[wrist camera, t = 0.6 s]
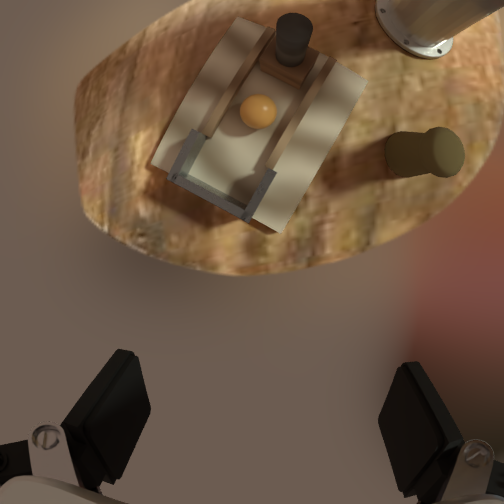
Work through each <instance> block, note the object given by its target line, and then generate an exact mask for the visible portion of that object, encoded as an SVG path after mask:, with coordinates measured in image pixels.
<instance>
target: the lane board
mask: <svg viewBox="0 0 504 504" xmlns="http://www.w3.org/2000/svg"><path fill="white" fill-rule="evenodd" d="M275 35H276V31H275V29H273V28H270V27H264V26H262V25H259V24H257V23H254V22H251V21H249V20H246V19H243V18H241V17H237V18H236V19H235V21H234V22H233V23H232V25H231V26H230V28H229V29H228V30H227V32H226V33H225V35H224V36H223V37H222V39H221V40H220V42H219V43H218V45H217V46H216V48H215V49H214V51H213V52H212V54H211V55H210V57H209V58H208V60H207V62H206V63H205V65H204V66H203V68H202V69H201V71H200V73H199V74H198V76H197V78H196V79H195V81H194V83H193V84H192V86H191V88H190V89H189V91H188V93H187V94H186V96H185V98H184V100H183V101H182V103H181V105H180V107H179V109H178V110H177V112H176V114H175V116H174V118H173V120H172V121H171V123H170V125H169V127H168V129H167V131H166V133H165V135H164V137H163V139H162V141H161V143H160V145H159V147H158V149H157V151H156V153H155V155H154V157H153V159H152V161H151V163H150V164H152V165H154V166H156V167H158V168H160V169H162V170H164V171H166V172H167V173H169V172H170V170H171V168H172V166H173V164H174V162H175V160H176V158H177V156H178V154H179V152H180V150H181V148H182V146H183V144H184V142H185V140H186V138H187V137H188V135H189V133H190V131H191V129H194V130H196V131H198V132H200V133H202V134H204V135H206V136H208V137H207V139H206V141H205V143H204V145H203V146H202V148H201V150H200V152H199V154H198V156H197V158H196V160H195V162H194V164H193V166H192V168H191V169H190V171H189V173H188V174H189V175H191V176H193V177H195V178H197V179H199V180H201V181H203V182H205V183H207V184H208V185H210V186H212V187H214V188H216V189H218V190H220V191H222V192H223V193H225V194H227V195H229V196H231V197H233V198H235V199H236V200H238V201H240V202H242V203H244V204H246V205H248V204H249V202H250V200H251V198H252V196H253V195H254V193H255V191H256V189H257V187H258V186H259V184H260V182H261V180H262V179H263V177H264V175H265V173H266V171H267V170H268V168H270V169H272V170H274V171H275V172H277V174H276V176H275V177H274V179H273V181H272V183H271V185H270V186H269V188H268V190H267V192H266V193H265V195H264V197H263V199H262V200H261V202H260V204H259V206H258V208H257V209H256V211H255V213H254V215H253V216H252V218H253V219H255V220H257V221H259V222H261V223H262V224H264V225H266V226H268V227H270V228H271V229H273V230H275V231H277V232H279V233H280V234H281V233H282V231H283V229H284V228H285V226H286V224H287V223H288V221H289V219H290V218H291V216H292V214H293V212H294V211H295V209H296V207H297V206H298V204H299V202H300V200H301V199H302V197H303V195H304V194H305V192H306V190H307V188H308V187H309V185H310V183H311V181H312V180H313V178H314V176H315V175H316V173H317V171H318V169H319V168H320V166H321V164H322V162H323V161H324V159H325V157H326V155H327V154H328V152H329V150H330V148H331V147H332V145H333V143H334V141H335V140H336V138H337V136H338V134H339V133H340V131H341V129H342V127H343V125H344V124H345V122H346V120H347V118H348V117H349V115H350V113H351V111H352V110H353V108H354V106H355V104H356V102H357V101H358V99H359V97H360V95H361V93H362V92H363V90H364V88H365V86H366V84H367V83H368V81H367V80H366V79H364V78H363V77H361V76H360V75H358V74H356V73H355V72H353V71H352V70H350V69H348V68H347V67H345V66H343V65H341V64H340V63H338V62H336V61H337V60H336V59H334V58H332V57H330V56H329V57H327V56H325V55H324V54H322V53H319V55H318V58H317V60H316V62H315V65H314V66H313V68H312V69H311V71H310V73H309V74H308V76H307V78H306V79H305V81H304V83H303V84H302V86H301V87H300V89H299V90H298V89H297V88H295V87H293V86H291V85H289V84H287V83H285V82H283V81H281V80H279V79H277V78H275V77H273V76H271V75H269V74H267V73H265V72H262V71H261V68H260V57H261V56H262V54H263V53H264V51H265V50H266V48H267V47H268V45H269V44H270V42H271V41H272V39H273V38H274V37H275ZM254 94H263V95H266V96H268V97H270V98H271V99H272V100H273V101H274V103H275V105H276V108H277V116H276V118H275V120H274V122H273V123H272V124H271V125H270V126H268V127H266V128H263V129H254V128H251V127H249V126H247V125H246V124H245V123H244V122H243V121H242V119H241V116H240V107H241V104H242V102H243V101H244V100H245V99H246V98H247V97H249V96H251V95H254Z"/></svg>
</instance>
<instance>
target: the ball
mask: <svg viewBox="0 0 504 504" xmlns="http://www.w3.org/2000/svg"><path fill="white" fill-rule="evenodd" d="M240 116H241V119H242V121H243V122H244V123H245V124H246V125H247V126H249V127H251V128H254V129H263V128H266V127H268V126H270V125H271V124H272V123H273V122H274V120H275V118H276V116H277V108H276V105H275V103H274V101H273V100H272V99H271V98H270V97H268V96H266V95H263V94H254V95H251V96H249V97H247V98H246V99H245V100H244V101H243V102H242V104H241V107H240Z"/></svg>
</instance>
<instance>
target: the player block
mask: <svg viewBox="0 0 504 504" xmlns="http://www.w3.org/2000/svg"><path fill="white" fill-rule="evenodd" d="M312 31H313V25H312V23H311V21H310V20H309V19H308V18H307V17H305V16H304V15H301V14H298V13H288V14H285V15H283V16H281V17H280V18H279V19H278V21H277V24H276V35H275V37H274V38H273V39H272V41H271V42H270V44H269V45H268V47H267V48H266V50H265V51H264V53H263V54H262V56H261V57H260V68H261V71H262V72H265V73H267V74H269V75H271V76H273V77H275V78H277V79H279V80H281V81H283V82H285V83H287V84H289V85H291V86H293V87H295V88H297V89H298V90H299V89H300V87H301V86H302V84H303V83H304V81H305V79H306V78H307V76H308V74H309V73H310V71H311V69H312V68H313V66H314V65H315V62H316V60H317V58H318V55H319V53H320V52H318V51H316V50H314V49H312V48H310V47H308V44H309V41H310V37H311V34H312Z"/></svg>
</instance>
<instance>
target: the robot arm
mask: <svg viewBox="0 0 504 504" xmlns="http://www.w3.org/2000/svg"><path fill="white" fill-rule="evenodd" d="M502 7H504V0H376V3H375V12H376V16H377V19H378V21H379V23H380V25H381V26H382V28H383V29H384V31H385V32H386V33H387V34H388V36H389V37H390V38H391V39H392V40H393V41H394V42H395V43H396V44H398V45H399V46H400V47H402V48H403V49H405V50H406V51H408V52H410V53H411V54H414V55H416V56H418V57H422V58H426V59H436V58H440V57H442V56H444V55H445V54H447V53H448V52H449V51H450V50H451V47H452V45H453V36H455V35H457V34H458V33H460V32H461V31H463V30H465V29H466V28H468V27H470V26H471V25H473V24H475V23H476V22H478V21H480V20H481V19H483V18H485V17H487V16H488V15H490V14H492V13H493V12H495V11H497V10H499V9H500V8H502ZM150 411H151V406H150V402H149V399H148V395H147V391H146V387H145V384H144V379H143V375H142V371H141V367H140V362H139V358H138V357H137V356H135V355H134V353H133V352H132V351H127V350H122V349H117V350H116V351H115V353H114V354H113V355H112V357H111V358H110V359H109V361H108V362H107V363H106V364H105V366H104V367H103V368H102V370H101V371H100V372H99V374H98V375H97V376H96V378H95V379H94V380H93V381H92V382H91V384H90V385H89V386H88V388H87V389H86V390H85V392H84V393H83V394H82V396H81V397H80V399H79V400H78V401H77V403H76V404H75V406H74V407H73V408H72V410H71V411H70V412H69V414H68V415H67V417H66V418H65V419H64V421H63V422H62V423H61V425H58V424H56V423H54V422H50V421H49V422H41V423H38V424H37V425H35V426H34V427H33V428H32V429H31V430H30V432H29V434H28V440H24V441H20V442H14V443H9V444H4V445H0V504H128V503H124V502H121V501H118V500H115V499H112V498H109V497H106V496H103V494H102V492H101V489H100V487H99V486H100V485H101V483H102V481H104V482H107V483H110V484H113V485H114V483H115V481H116V479H120V478H121V477H122V474H123V472H124V470H125V468H126V466H127V463H128V461H129V459H130V456H131V455H132V452H133V450H134V448H135V445H136V443H137V441H138V439H139V437H140V435H141V432H142V430H143V428H144V426H145V424H146V422H147V419H148V417H149V415H150ZM378 424H379V427H380V430H381V434H382V437H383V440H384V443H385V446H386V449H387V452H388V456H389V459H390V462H391V466H392V469H393V473H394V476H395V479H396V483H397V486H398V490H399V491H400V492H403V495H404V498H406V497H410V496H413V495H417V498H418V502H417V504H504V463H500V462H498V461H495V460H494V453H493V450H492V448H491V447H490V446H489V445H488V444H487V443H486V442H484V441H481V440H470V441H468V442H466V443H465V442H464V440H463V437H462V435H461V433H460V431H459V429H458V427H457V426H456V424H455V422H454V420H453V418H452V417H451V415H450V413H449V411H448V410H447V408H446V406H445V404H444V403H443V401H442V399H441V398H440V396H439V394H438V392H437V391H436V389H435V387H434V386H433V384H432V382H431V381H430V379H429V377H428V376H427V374H426V373H425V371H424V369H423V368H422V366H421V365H420V363H419V362H417V361H415V362H405V363H403V364H402V365H401V367H398V368H397V371H396V374H395V376H394V379H393V382H392V385H391V387H390V390H389V392H388V395H387V398H386V400H385V402H384V405H383V408H382V410H381V412H380V414H379V418H378Z"/></svg>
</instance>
